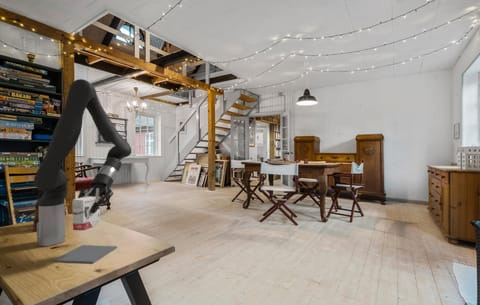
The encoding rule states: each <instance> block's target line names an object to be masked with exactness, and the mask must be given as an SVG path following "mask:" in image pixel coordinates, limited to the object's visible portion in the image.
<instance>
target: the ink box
mask: <svg viewBox="0 0 480 305" xmlns="http://www.w3.org/2000/svg"><path fill="white" fill-rule="evenodd" d="M95 201H96V197H95V196H87V197H82V198H78V197H77V198H74V199H72V205H71V206H72V230H73V231H86V230H88V229H89V230H90V229H91V228H94V227H97V226H99V225H101V205H100V206H99V208H98V209H97V211H96V212H95V213H91V212H90V209H91V208H92V206H93V204H94V203H96V202H95Z"/></svg>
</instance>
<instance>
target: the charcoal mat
mask: <svg viewBox="0 0 480 305" xmlns="http://www.w3.org/2000/svg"><path fill="white" fill-rule="evenodd" d="M117 248H118V246H117V245H89V244H88V245H87V244H81V245H80V246H77V247H75V248H74V249H72V250H70V251H68V252H66V253H64V254H62V255H60V256H59V257H56V258H55V259H53V260H52V262H54V263H55V262H56V263H57V262H58V263H75V264H95V263H96V262H98V261H99V260H101V259H102V258H104V257H106V256H107V255H108V254H110V253H111V252H113V251H114V250H116V249H117Z"/></svg>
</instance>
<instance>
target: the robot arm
mask: <svg viewBox="0 0 480 305" xmlns="http://www.w3.org/2000/svg"><path fill="white" fill-rule="evenodd" d="M66 97H67V98H66V101H65V104H64V107H63V110H62V112H61V114H60V116H59V119H58V121H57V123H56V126H55V128H54V131H53V132H52V137H51V139H50V141H49V145H48V147H47V150H46V153H45V154H44V157H43V159H42V162H41V163H40V164H39V167H38V169H37V171H36V173H35V175H34V179H33V182H34V183H33V184H34V186H35V187H36V189H38V190H43V191H44V194H43V196H42V197H41V198H40V199H39V202H38V204H39V222H38V223H37V232H36V245H38V246H40V247H49V246H54V245H59V244H61V243H63V242H65V241H66V209H65V208H66V207H65V205H66V204H65V201H66V200H65V199H66V197H67V192H68V177H67V174H66V172H65V171H64V170H63V169H61V168H62V165H63V163H64V161H65V159H66V158H67V157H68V156H69V155H70V154H71V152H72V151H73V149H74V148H75V147H76V145H77V142H78V141H79V138H80V135H81V132H82V128H83V127H82V126H83V119H84V114H85V110H87V112H88V113H89V115H90V116H91V119H92V120H93V123H94V125H95V127H96V129H97V131H98V133H99V135H100V136H101V137H102V139H103V140H104V141H105V143H108V144H109V143H112V144H113V147H111V148H110V149H109V150H108V151H107V155H106V158H105V160H104V163H103V164H102V166H101V167H100V168H99V169H98V171H97V173H96V174H95V176H94V178H93V179H92V181H91V183H90V186H89V187H88V188H87V189H84V188H82V189H80V192H79V193H78V197H77V198H82V197H87V196H95V197H96V201H95V202H96V203H94V204H93V206H92V208H91V209H90V212H91V213H95V212H96V211H97V209H98V208H99V206H100V207H101V205H106V204H107V202H108V201H109V200H110V199H111V198H112V196H113V194H114V192H113V190H112V189H111V187H112V185H113V184H114V182H115V180H116V179H117V175H118V173H119V171H120V169H121V167H122V161H121V160H123V159H125V158H127V157H130V156H131V155H132V147H131V145H130V143H128V141H127V140H126V139H125V138H123V137H122V135H120V133H119V132H118V130H117V128H116V127H115V125H114V124H113V122H112V121H111V119H110V117H109V116H108V114H107V112H106V111H105V110H104V107H103V105H102V103H101V101H100V98H99V97H98V94H97V90H96V88H95V86H94V85H93V84H92V83H91V82H89V81H88V80H86V79H82V78H80V79H78V78H77V79H76V80H73V81H72V82H71V83H70V85H69V88H68V93H67V96H66Z"/></svg>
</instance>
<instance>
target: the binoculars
mask: <svg viewBox="0 0 480 305" xmlns="http://www.w3.org/2000/svg"><path fill="white" fill-rule="evenodd" d="M38 190H39V189H38ZM43 194H44V191H43V190H39V191H38V194H37V196H38V198H37V200H36V202H35V205H34V207H35V209H34V216H33V217H34V218H33V222H32V223H33V227H32V232H34V233H37V223H38V222H39V204H38V202H39V199H40V198H41V197H42V196H43Z"/></svg>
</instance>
